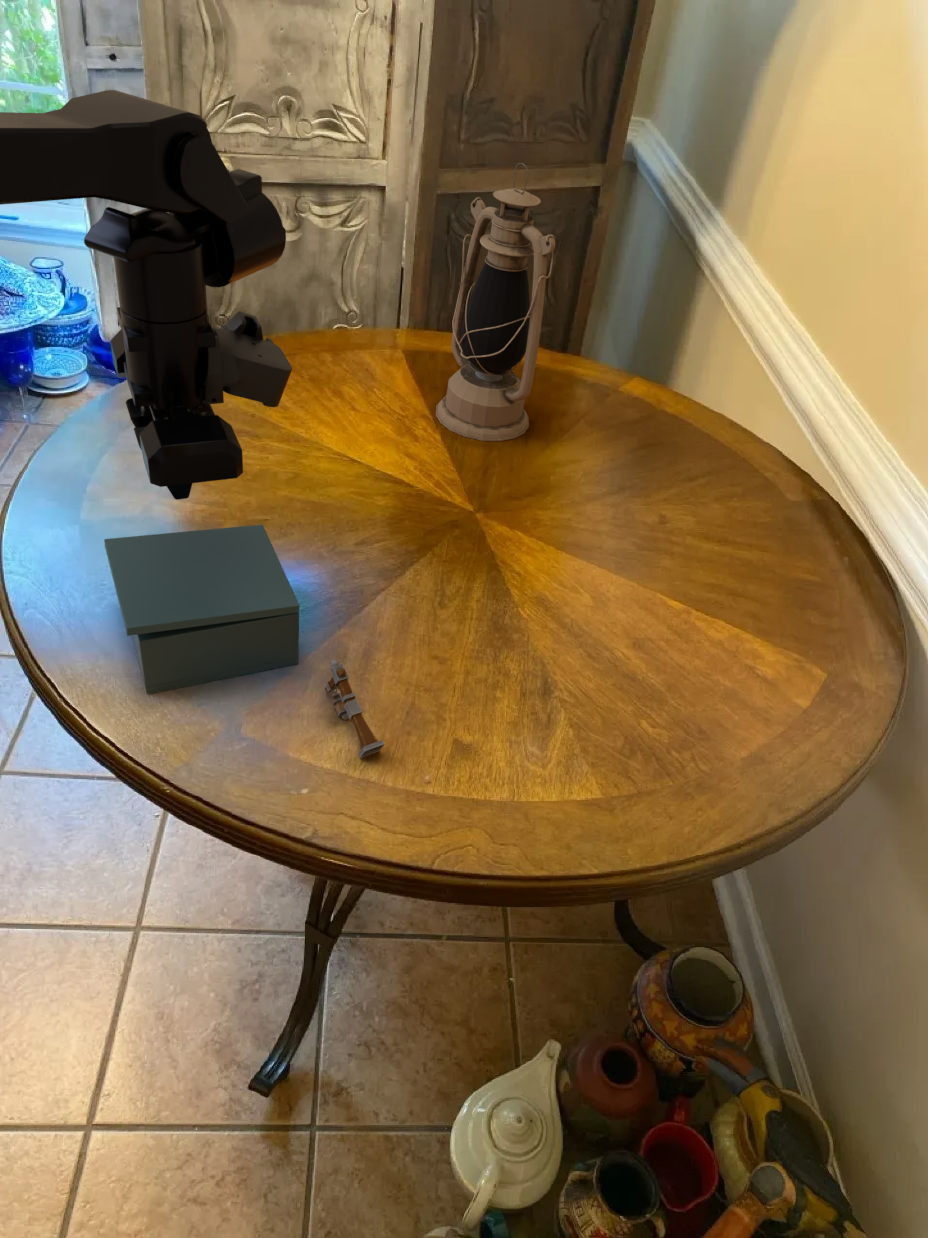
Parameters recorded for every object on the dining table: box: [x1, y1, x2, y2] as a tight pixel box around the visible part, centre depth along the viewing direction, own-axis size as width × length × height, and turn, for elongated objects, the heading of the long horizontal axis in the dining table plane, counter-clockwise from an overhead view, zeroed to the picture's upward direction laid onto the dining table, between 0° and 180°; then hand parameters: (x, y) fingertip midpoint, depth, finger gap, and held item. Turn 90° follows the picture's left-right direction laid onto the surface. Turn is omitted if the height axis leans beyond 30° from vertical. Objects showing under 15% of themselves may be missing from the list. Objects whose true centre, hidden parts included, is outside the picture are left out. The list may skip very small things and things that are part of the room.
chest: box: [130, 612, 300, 695], centre depth 78 cm, size 13×12×6 cm
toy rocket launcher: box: [324, 659, 386, 759], centre depth 73 cm, size 2×8×4 cm, turn 32°
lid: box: [103, 524, 301, 637], centre depth 76 cm, size 13×12×1 cm
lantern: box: [435, 162, 556, 442], centre depth 106 cm, size 14×12×30 cm
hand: (181, 496), depth 73 cm, fingers closed
